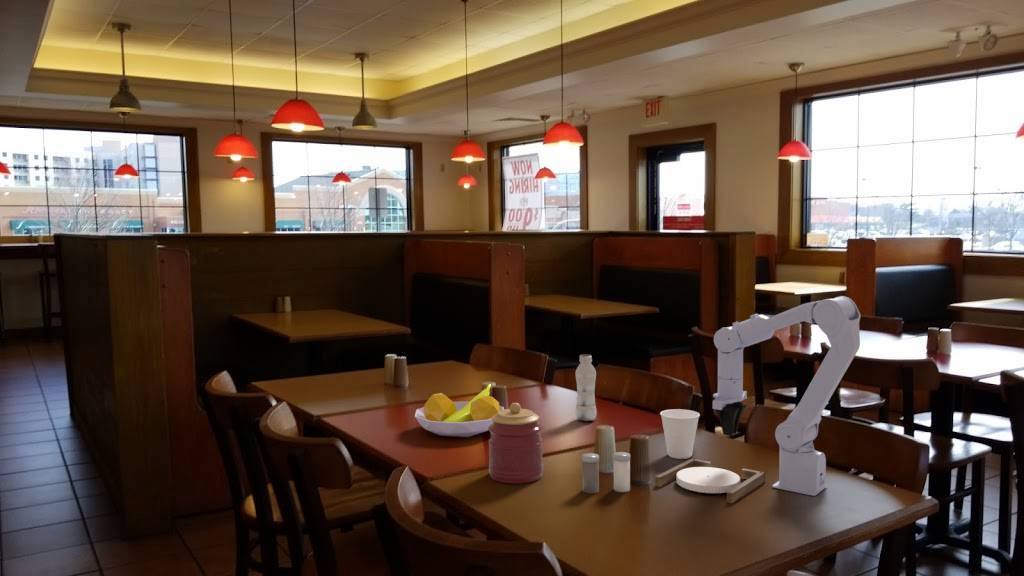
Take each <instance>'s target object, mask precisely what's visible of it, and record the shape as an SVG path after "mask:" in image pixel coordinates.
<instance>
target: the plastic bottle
mask: <svg viewBox="0 0 1024 576" xmlns="http://www.w3.org/2000/svg"><path fill="white" fill-rule="evenodd" d="M578 362H580V363H579V364H578V366H577V367H576V370H575V381H576V390H577V391H576V393H577V397H576V406H575V417H576V419H577V420H579V421H583V422H589V421H594V420H595V419H596V417H597V414H598V412H597V406H596V398H595V392H596V391H595V388H596V381H597V380H596V379H597V371H596V368H595V367H594V365H593V364H592V362H593V358H592V355H591V354H580V355H579V361H578Z"/></svg>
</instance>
